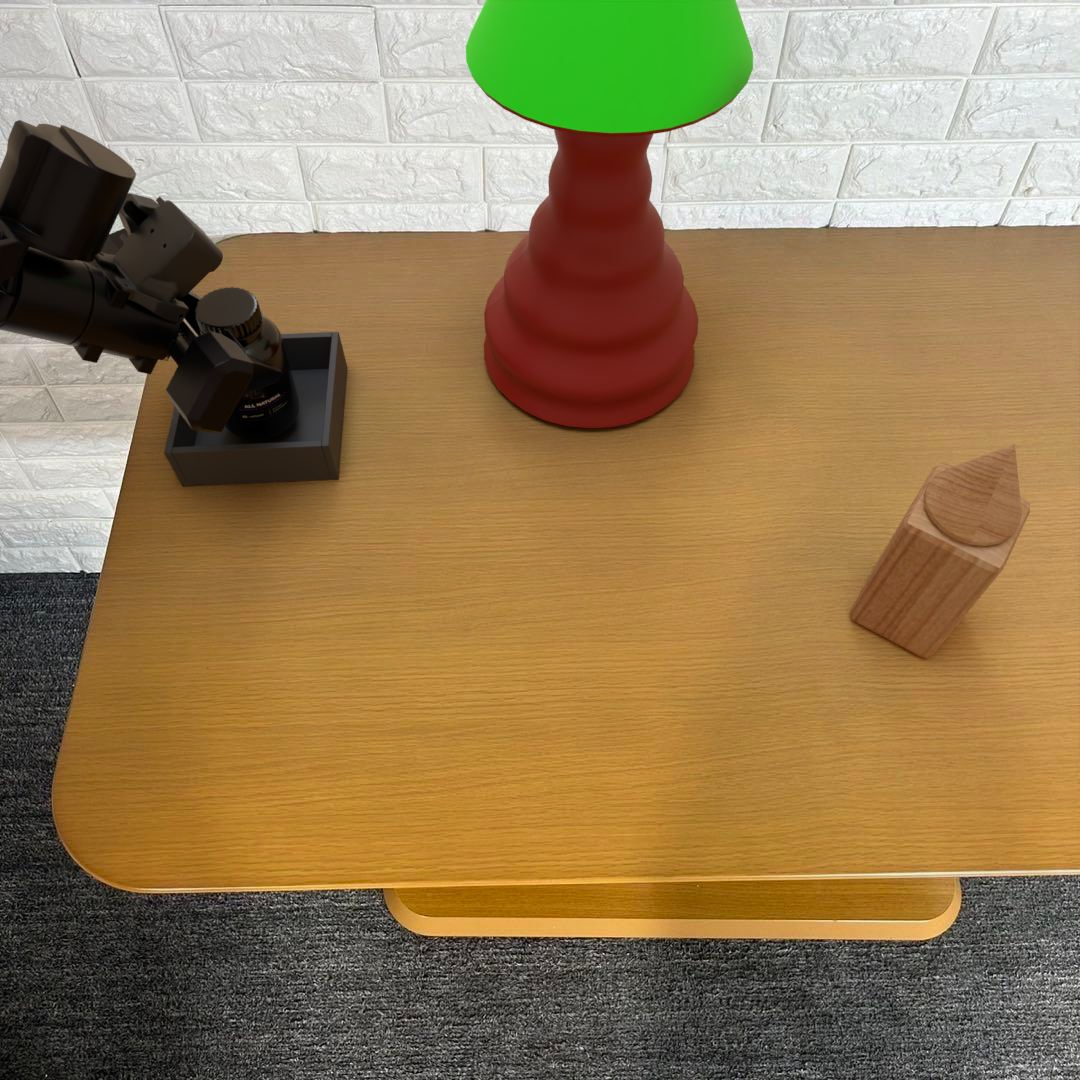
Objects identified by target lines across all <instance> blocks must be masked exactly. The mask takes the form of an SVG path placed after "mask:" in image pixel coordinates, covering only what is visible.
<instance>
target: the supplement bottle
mask: <svg viewBox="0 0 1080 1080" xmlns="http://www.w3.org/2000/svg"><path fill="white" fill-rule="evenodd" d="M195 308H196V309H195V317H196V320H197V322H198V327H199V330H200V332H199V333H198V336H200V335H202V334H204V333H206V332H208V331H211V332H215V333H219V334H222V335H223V334H224V332H225V330H226V329H228V330H229V331H230V333H231V334H232V335H233V336H234V337H235V339H236V340H237V341H238V342H239V343H240V344H241V346H242V347H243V348H244V350H245V353H246V354H248V355H250V356H252V357H255V358H257V359H259V360H262V361H264V362H266V363H269V364H271V365H273V366H275V367H277V368H279V369H280V370H281V371H282V375H281V376H280V378H279V380H278V381H277V382H276V383H274V384H271V385H268V386H265V387H262V388H259V389H256V390H254V391H251V392H248V393H245V394H243V395H242V396H241V398H240V400H239V402H238V404H237V405H236V407H235V409H234V411H233V413H232V414H231V416H230V418H229V420H228V421H227V423H226V425H225V427H226V428H227V429H228V430H229V431H230V432H231V433H233V434H234V435H236V436H238V437H241V438H244V439H249V440H263V439H268V438H272V437H275V436H277V435H279V434H281V433H283V432H284V431H286V430H287V429H288V428H289V427H290V426H291V425H292V424H293V423H294V422H295V420H296V418H297V416H298V414H299V409H300V403H299V398H298V394H297V390H296V387H295V383H294V380H293V376H292V372H291V369H290V365H289V362H288V358H287V354H286V351H285V347H284V344H283V340H282V337H281V334H282V333H281V332H280V330H279V328H278V326H277V325H276V324H275V323H274V321H272V320H271V319H269V318H268V317H266V316H265V315H263V312H262V309H261V307H260V304H259V301H258V299H257V298H256V296H255V295H254V294H253V293H252V292H250V291H249V290H247V289H244V288H240V287H235V286H234V287H233V286H230V287H227V286H225V287H221V288H218V289H214V290H212V291H209V292H207V293H206V294H204V295H203V297H202V298H201V299H200V301H199V302H198V303H197V306H196V307H195Z"/></svg>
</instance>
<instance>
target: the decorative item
mask: <svg viewBox="0 0 1080 1080" xmlns="http://www.w3.org/2000/svg"><path fill="white" fill-rule="evenodd" d="M1016 451H1017V450H1016V443H1012V444H1010V445H1007V446H1004V447H1002V448H1000V449H997V450H994V451H991V452H989V453H985V454H983V455H981V456H978V457H976V458H975V457H974V458H973V459H970V460H967V461H965V462H963V463H960V464H956V465H954V466H953V465H952V464H949V463H947V462H940V463H938V464H937V465H936V466H934V467H933V468H932V469H931V471H930V472H929V474H928V476H927V478H926V479H925V480H924V483H923V484H922V486H921V487H920V489H919V490H918V492H917V494H916V496H915V497H914V499H913V501H912V503H911V504H910V506H909V507H908V509H907V510H906V513H905V515H904V516H903V518H902V519H901V521H900V523H899V524H898V526H897V528H896V529H895V531H894V533H893V534H892V536H891V538H890V539H889V542H888V543H887V545H886V546H885V548H884V550H883V552H882V553H881V555H880V556H879V558H878V560H877V562H876V564H875V565H874V567H873V569H872V571H871V572H870V574H869V576H868V577H867V579H866V581H865V583H864V585H863V587H862V588H861V590H860V591H859V593H858V595H857V597H856V599H855V600H854V602H853V604H852V606H851V608H850V611H849V612H850V614H849V615H850V618H851V620H852V621H854V622H855V623H856V624H859V625H860V626H862V627H864V628H866V629H868V630H870V631H872V632H874V633H875V634H877V635H879V636H881V637H883V638H885V639H887V640H888V641H891V642H892V643H894V644H896V645H898V646H900V647H902V648H903V649H905V650H907V651H910V652H911V653H913V654H915V655H917V656H919V657H920V658H925V659H927V658H930V657H931V656H933V655H935V653H936V651H938V649H939V648H940V647H941V645H942V644H943V643H944V642H945V641H946V640H947V638H948V637H949V636H950V634H951V633H952V632H953V631H954V630H955V629H956V627H957V626H958V625H959V623H960V622H961V621H962V620H963V619H964V617H965V616H966V615H967V614H968V613H969V612H970V610H971V609H972V608H973V607H974V606H975V605H976V603H977V602H978V601H979V600H980V598H981V597H982V596H983V595H984V594H985V592H986V591H987V590H988V588H989V587H990V586H991V585H992V583H993V582H994V581H995V580H996V579H997V578H998V576H999V575H1000V574H1001V573H1002V571H1003V570H1004V568H1005V567H1006V565H1007V563H1008V560H1009V558H1010V556H1011V554H1012V552H1013V550H1014V547H1015V545H1016V543H1017V541H1018V539H1019V536H1020V534H1021V532H1022V530H1023V528H1024V525H1025V524H1026V522H1027V519H1028V517H1029V516H1030V512H1031V511H1030V510H1031V503H1030V502H1029V501H1028V500H1026V499H1025V498H1023V497H1021V491H1020V482H1019V481H1020V480H1019V471H1018V461H1017V452H1016Z"/></svg>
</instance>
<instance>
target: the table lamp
mask: <svg viewBox="0 0 1080 1080" xmlns="http://www.w3.org/2000/svg"><path fill="white" fill-rule="evenodd" d="M752 48H753V47H752V45H751V42H750V39H749V37H748V34H747V31H746V27H745V25H744V21H743V18H742V15H741V13H740V9H739V7H738V3H737V0H485V2H484V4H483V6H482V8H481V10H480V12H479V14H478V17H477V19H476V20H475V22H474V24H473V27H472V29H471V31H470V33H469V36H468V39H467V41H466V45H465V62H466V64H467V67H468V70H469V73H470V74H471V77H472V79H473V80H474V82H475V83H476V85H477V86H478V87H479V88H480V89H481V91H482V92H483V93H484V95H486V97H487V98H489V99H490V100H491V101H493V102H494V103H495V104H496V105H498V106H499V107H500V108H502V110H505V111H507V112H509V113H511V114H513V115H515V116H517V117H518V118H521V119H523V120H525V121H527V122H530V123H533V124H535V125H539V126H542V127H545V128H548V129H551V130H553V131H554V136H555V139H556V143H557V151H556V153H555V156H554V158H553V160H552V162H551V166H550V169H549V174H548V180H547V181H548V182H547V184H548V185H547V186H548V195H547V196H546V198H544V200H543V201H542V202H541V203H540V204H539V205H538V207H537V208H536V210H535V211H534V213H533V215H532V217H531V219H530V224H529V229H528V233H527V234H526V235H524V237H523V238H522V239H521V240H520V241H519V242H518V243H517V245H515V246H514V248H513V249H512V251H511V253H510V254H509V256H508V258H507V260H506V264H505V267H504V272H503V275H502V276H501V278H500V279H499V280H498V281H497V282H496V283H495V285H494V287H493V289H492V290H491V292H490V294H489V296H488V297H487V300H486V304H485V308H484V313H483V318H484V331H485V338H484V342H483V356H484V357H483V360H484V364H485V367H486V370H487V373H488V376H489V377H490V379H491V380H492V382H493V384H494V385H495V387H496V388H497V389H498V390H499V392H501V393H502V394H503V395H504V396H505V397H506V398H507V399H508V400H509V401H510V402H511V403H512V404H514V405H516V406H517V407H519V408H520V409H521V410H523V411H524V412H526V413H528V414H530V415H532V416H534V417H536V418H538V419H540V420H543V421H546V422H548V423H551V424H552V423H553V424H557V425H561V426H565V427H574V428H583V429H584V428H585V429H594V428H595V429H599V428H613V427H618V426H619V427H620V426H626V425H630V424H632V423H635V422H638V421H641V420H643V419H647V418H648V417H651V416H653V415H654V414H655V413H657V412H659V411H660V410H662V409H664V408H665V407H667V406H668V405H669V404H670V403H671V402H672V401H674V400H675V399H676V398H677V397H678V396H679V395H681V393H682V391H683V390H684V388H685V387H686V386H687V384H688V382H689V381H690V379H691V376H692V372H693V370H694V367H695V347H694V346H695V343H696V341H697V337H698V335H699V333H698V332H699V315H698V310H697V307H696V304H695V302H694V300H693V298H692V296H691V294H690V292H689V291H688V289H687V287H686V285H685V284H684V283H685V276H684V272H683V268H682V264H681V263H680V261H679V258H678V257H677V255H676V253H675V252H674V250H673V248H671V246H670V245H669V244H668V243H667V241H665V239H666V233H665V232H666V231H665V227H664V222H663V220H662V218H661V215H660V213H659V212H658V209H657V208H656V207H655V205H654V204H653V202H652V201H651V200H650V199H651V194H652V187H653V174H652V170H651V164H650V162H649V159H648V149H649V146H650V144H651V141H652V140H653V137H654V135H655V134H656V135H657V134H661V133H668V132H671V131H676V130H678V129H682V128H685V127H689V126H692V125H695V124H697V123H699V122H702V121H704V120H705V119H708V118H710V117H712V116H714V115H716V114H717V113H720V111H722V110H724V108H726V107H727V106H729V105H730V104H732V102H733V101H734V100H735V99H736V98H737V97H738V95H739V94H741V91H743V89H744V88H745V87H746V86H747V84H748V83H749V80H750V77H751V74H752V72H753V69H754V52H753V49H752Z"/></svg>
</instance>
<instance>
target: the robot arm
mask: <svg viewBox="0 0 1080 1080" xmlns="http://www.w3.org/2000/svg"><path fill="white" fill-rule="evenodd" d="M136 176H137V172H136V171H135V169H134V168H133V167H132V166H131V165H130V164H129V163H128V162H127V161H126V160H125V159H123V158H122V157H121V156H119V155H118V153H116V152H115V151H113V150H111V149H110V148H109V147H107V146H105V145H103V143H100V142H98V141H97V140H95V139H93V138H91V137H89V135H86V134H84V133H81V132H80V131H78V130H75V129H74V128H72V127H69V126H66V125H64V124H61V125H60V126H57V125H53V124H49V123H38V124H37V125H33V124H31V123H29V122H26V121H23V120H21V119H18V120H16V121H14V123H13V126H12V128H11V130H10V132H9V135H8V139H7V145H6V152H5V155H4V158H3V159H2V163H1V166H0V331H3V332H9V333H13V334H18V335H22V336H27V337H31V338H34V339H35V338H36V339H40V340H45V341H49V342H54V343H58V344H62V345H65V346H70V347H73V349H74V350H75V351H76V353H77V354H78V355H79V357H80V359H81V360H82V361H86V362H90V363H94V364H98V362H99V360H100V357H101V356H102V354H106V355H112V356H116V357H120V358H125V359H128V360H129V362H130V363H131V364H132V367H134V368H135V370H136V371H137V372H138V373H141V374H147V375H152V373H153V371H154V369H155V367H156V366H157V363H158V361H167V362H168V361H169V359H170V358H171V359H173V361H174V362H175V364H176V365H177V368H176V370H175V372H173V375H172V376H171V379H170V381H169V382H168V385H167V387H166V388H165V392H166V394H167V396H168V397H169V400H170V402H171V404H172V405H173V407H174V406H175V407H176V409H177V410H178V411H179V413H180V414H181V415H182V417H183V418H184V419H185V421H186V422H187V423H188V425H189V426H190V427H191V429H192V430H196V431H202V432H208V433H214V434H215V433H220V432H222V430H223V429H224V427H225V425H226V423H227V421H228V420H229V418H230V416H231V414H232V413H233V411H234V409H235V407H236V405H237V404H238V402H239V400H240V398H241V396H242V395H243V394H245V393H248V392H251V391H254V390H256V389H259V388H262V387H265V386H268V385H271V384H274V383H276V382H277V381H278V380H279V378H280V376H281V375H282V371H281V370H280V369H279V368H277V367H275V366H273V365H271V364H269V363H266V362H264V361H262V360H259V359H257V358H255V357H252V356H250V355H248V354H246V353H245V350H244V348H243V347H242V346H241V344H240V343H239V342H238V341H237V340H236V339H235V337H234V336H233V335H232V334H231V333H230V331H229V330H228V329H226V330H225V332H224V334H223V335H222V334H219V333H215V332H211V331H208V332H206V333H204V334H202V335H200V336H198V333H199V332H200V330H199V327H198V322H197V320H196V317H195V309H196V308H195V307H196V306H197V303H198V302H199V301H200V299H201V298H203V297H202V296H200V295H199V294H197V293H195V292H194V291H193V290H194V288H195V287H197V286H198V285H199V284H200V283H201V282H202V280H204V279H205V278H206V276H208V274H210V273H213V272H215V271H216V270H217V269H218V268H219V267H220V266H221V264H222V261H223V259H224V254H223V251H222V250H221V248H219V246H218V245H217V244H215V242H214V241H213V240H212V239H211V237H209V236H208V234H207V233H206V232H205V230H203V229H202V228H201V227H200V226H199V225H198V224H197V223H195V222H194V221H193V219H191V218H190V217H189V216H188V215H187V214H186V213H185V212H184V211H183V210H182V209H180V208H179V207H178V206H177V205H176V204H175V203H174V202H173V201H171V200H170V199H169V200H168V199H166V200H164V199H163V197H161V196H158V197H157V198H156V199H153V198H151V197H147V196H144V195H139V194H135V193H132V192H130V191H131V188H132V186H133V184H134V181H135V180H136V178H137V177H136ZM118 217H119V220H120V222H121V224H122V226H123V228H121V229H119V230H116V231H113V232H111V231H112V229H113V226H114V224H115V222H116V221H117V218H118Z"/></svg>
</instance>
